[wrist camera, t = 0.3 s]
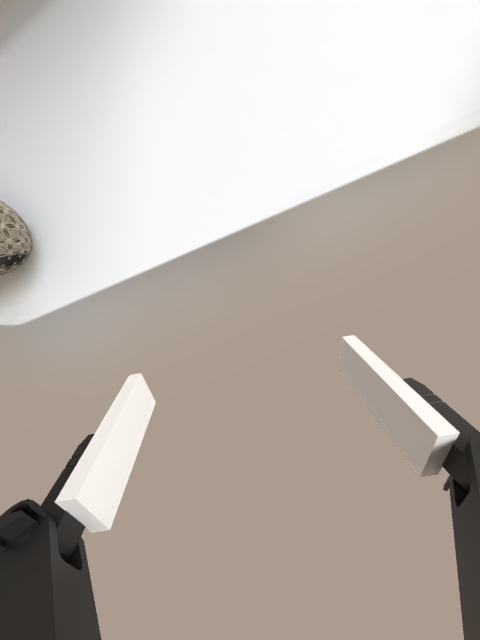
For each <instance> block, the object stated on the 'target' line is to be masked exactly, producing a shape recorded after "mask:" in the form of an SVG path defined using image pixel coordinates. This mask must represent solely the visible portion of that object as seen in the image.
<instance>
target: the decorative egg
mask: <svg viewBox="0 0 480 640" xmlns="http://www.w3.org/2000/svg"><path fill="white" fill-rule="evenodd" d="M31 248H32V240H31V235H30V232H29V230H28V228H27V226H26V224H25V223H24V221H23V220H22V219H21V217H20V216H19V215H18V214H17V213H16V212H15V211H14V210H12V209H11V208H10V207H9V206H7V205H6V204H5V203H3V202H2V201H0V275H3V274H6V273H8V272H11V271H13V270H15V269H16V268H18V267H19V266H20V265H22V264H23V263H24V262H25V260H26V259H27V258H28V256H29V254H30V251H31Z"/></svg>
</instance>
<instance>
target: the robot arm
mask: <svg viewBox="0 0 480 640" xmlns="http://www.w3.org/2000/svg"><path fill="white" fill-rule="evenodd" d="M340 371H341V373H342V374H343V375H344V377H345V378H346V379H347V380H348V382H349V383H350V385H351V386H352V387H353V389H354V390H355V391H356V393H357V394H358V395H359V397H360V398H361V399H362V401H363V402H364V403H365V405H366V406H367V407H368V409H369V410H370V411H371V413H372V414H373V415H374V417H375V418H376V419H377V421H378V422H379V423H380V425H381V426H382V427H383V429H384V430H385V431H386V433H387V434H388V436H389V437H390V438H391V439H392V441H393V442H394V444H395V445H396V446H397V447H398V449H399V450H400V452H401V453H402V454H403V456H404V457H405V458H406V460H407V461H408V462H409V464H410V465H411V466H412V468H413V469H414V470H415V472H416V473H417V474H418V476H419V477H425V476H431V475H437V474H439V472H440V470H441V468H442V466H443V467H444V468H445V469H446V471H447V472H448V473H449V474H450V476H449V477H448V479H447V481H446V483H445V484H444V488H443V490H445V491H447V490H448V489H449V488H450V498H451V509H452V519H453V529H454V539H455V550H456V560H457V570H458V580H459V591H460V601H461V611H462V621H463V631H464V640H480V432H479V431H478V430H476V429H475V428H474V427H473V426H472V425H470V424H469V423H468V422H467V421H466V420H465V419H463V418H462V417H461V416H460V415H459V414H457V413H456V412H455V411H454V410H453V409H452V408H450V407H449V406H448V405H447V404H446V403H445V402H442V400H441V399H440V398H439V397H437V396H436V395H434V393H433V392H432V391H430V390H429V389H428V388H427V387H426V386H425V385H423V384H421V383H419V382H417V381H416V380H414V379H412V378H407V379H401V378H400V377H399V376H398V375H397V374H396V373H395V372H393V371H392V370H391V369H390V368H389V367H388V366H387V365H386V364H385V363H384V362H383V361H382V360H381V359H379V358H378V357H377V356H376V355H375V354H374V353H373V352H372V351H371V350H370V349H369V348H367V347H366V346H365V345H364V344H363V343H362V342H361V341H360V340H359V339H358V338H357V337H356V336H355V335H351V336H346V337H342V345H341V360H340ZM155 404H156V402H155V400H154V398H153V396H152V394H151V392H150V390H149V388H148V386H147V384H146V382H145V380H144V378H143V376H142V374H141V373H139V374H133V375H129V377H128V378H127V380H126V382H125V384H124V385H123V387H122V388H121V390H120V392H119V394H118V395H117V397H116V399H115V401H114V402H113V404H112V405H111V407H110V409H109V411H108V412H107V414H106V416H105V417H104V419H103V421H102V423H101V424H100V426H99V428H98V429H97V431H96V433H95V434H91V435H88V436H87V437H86V438H85V439H84V440H83V442H82V443H81V444H80V445H79V446H78V448H77V449H76V451H75V452H74V454H73V456H72V459H70V460H69V462H68V463H67V465H66V468H65V469H64V470H63V471H62V473H61V475H60V476H59V478H58V480H57V481H56V483H55V484H54V486H53V487H52V489H51V491H50V492H49V494H48V496H47V497H46V498H45V500H44V502H43V503H42V505H41V506H40V505H38V504H37V503H36V502H35V501H33V500H29V499H27V500H24V501H20V502H19V503H17V504H15V505H14V506H12V507H11V508H9V509H8V510H7V511H6V512H5V513H3V515H1V516H0V640H101V636H100V630H99V624H98V619H97V613H96V607H95V602H94V596H93V591H92V585H91V579H90V573H89V568H88V562H87V557H86V551H85V545H84V541H83V539H82V537H81V535H82V533H83V531H84V529H85V527H86V528H87V529H88V530H89V531H91V532H92V533H94V532H100V531H106V530H110V528H111V525H112V523H113V520H114V517H115V514H116V512H117V508H118V506H119V503H120V500H121V498H122V495H123V492H124V489H125V486H126V484H127V481H128V478H129V476H130V473H131V470H132V467H133V464H134V461H135V459H136V456H137V453H138V450H139V448H140V445H141V442H142V440H143V437H144V434H145V431H146V428H147V426H148V423H149V420H150V417H151V414H152V412H153V409H154V406H155Z"/></svg>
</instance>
